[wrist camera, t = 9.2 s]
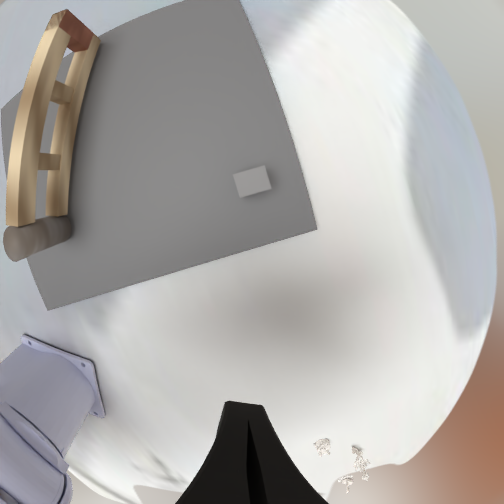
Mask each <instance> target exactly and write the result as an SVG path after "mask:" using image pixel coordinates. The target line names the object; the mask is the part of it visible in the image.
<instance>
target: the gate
mask: <svg viewBox="0 0 504 504" xmlns="http://www.w3.org/2000/svg"><path fill="white" fill-rule="evenodd" d="M100 42H101V40H100V39H99V38H98V37H97V36H96V35H95V34H94V33H93V32H92V31H91V30H90V29H88V28H87V27H86V26H85V25H84V24H83V23H82V22H81V21H80V20H79V19H78V18H76V17H75V16H74V15H73V14H72V13H71V12H70V11H69V10H67V9H66V10H63V11H60V12H58V13H55V14H53V15H52V17H51V19H50V21H49V23H48V25H47V27H46V30H45V32H44V34H43V36H42V38H41V41H40V43H39V45H38V48H37V50H36V53H35V56H34V58H33V61H32V64H31V66H30V69H29V72H28V75H27V78H26V82H25V85H24V88H23V92H22V95H21V99H20V103H19V107H18V111H17V116H16V121H15V125H14V131H13V136H12V142H11V149H10V157H9V166H8V176H7V193H6V225H9V227H7V229H6V230H5V232H4V237H3V243H4V249H5V252H6V254H7V256H8V257H9V258H10V259H11V260H12V261H15V262H17V261H19V260H21V259H24V258H26V257H28V256H31V255H33V254H35V253H38V252H40V251H43V250H45V249H47V248H50V247H52V246H55V245H57V244H60V243H62V242H65V241H67V240H68V239H69V237H70V235H71V223H70V221H69V219H68V217H67V216H65V215H67V213H68V192H69V180H70V169H71V161H72V153H73V146H74V140H75V134H76V128H77V123H78V118H79V113H80V109H81V104H82V100H83V96H84V92H85V88H86V85H87V81H88V78H89V74H90V71H91V68H92V64H93V61H94V58H95V55H96V53H97V50H98V47H99V44H100ZM66 48H69V49H70V50H72V51H73V52H75V53H74V56H73V59H72V62H71V65H70V68H69V71H68V74H67V77H66V81H65V84H63V83H61V82H59V81H57V80H56V76H57V73H58V70H59V67H60V64H61V61H62V58H63V56H64V53H65V50H66ZM50 101H51V102H54V103H57V104H59V107H58V112H57V116H56V121H55V126H54V132H53V137H52V144H51V150H50V154H49V153H40V148H41V141H42V135H43V129H44V124H45V119H46V115H47V110H48V106H49V102H50ZM38 170H48V177H47V190H46V216H48V217H44V218H39V219H35V205H36V185H37V173H38Z"/></svg>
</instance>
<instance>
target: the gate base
mask: <svg viewBox="0 0 504 504" xmlns="http://www.w3.org/2000/svg"><path fill="white" fill-rule="evenodd" d="M98 38H99V39H100V40H101V42H100V44H99V47H98V50H97V53H96V55H95V58H94V61H93V64H92V68H91V71H90V74H89V78H88V81H87V85H86V88H85V92H84V96H83V100H82V104H81V109H80V113H79V118H78V123H77V128H76V134H75V140H74V146H73V153H72V161H71V169H70V180H69V192H68V213H67V215H65V216H67V217H68V219H69V221H70V223H71V235H70V237H69V239H68V240H67V241H65V242H62V243H60V244H57V245H55V246H52V247H50V248H47V249H45V250H43V251H40V252H38V253H35V254H33V255H31V256H28V257H26V258H27V261H28V264H29V266H30V269H31V272H32V274H33V277H34V280H35V282H36V285H37V287H38V290H39V292H40V294H41V297H42V299H43V301H44V303H45V306H46V308H47V310H52V309H55V308H58V307H62V306H65V305H68V304H71V303H75V302H78V301H81V300H84V299H88V298H91V297H94V296H98V295H101V294H104V293H107V292H111V291H114V290H117V289H121V288H124V287H127V286H130V285H134V284H137V283H140V282H144V281H147V280H150V279H154V278H157V277H160V276H164V275H167V274H170V273H173V272H177V271H180V270H183V269H187V268H190V267H193V266H197V265H200V264H203V263H207V262H210V261H213V260H217V259H220V258H223V257H227V256H230V255H233V254H237V253H240V252H243V251H247V250H250V249H253V248H257V247H260V246H263V245H267V244H270V243H273V242H277V241H280V240H284V239H287V238H290V237H294V236H297V235H300V234H304V233H307V232H310V231H314V230H317V226H316V222H315V218H314V214H313V210H312V206H311V202H310V199H309V195H308V191H307V188H306V184H305V180H304V177H303V173H302V170H301V166H300V163H299V160H298V156H297V153H296V150H295V146H294V143H293V140H292V137H291V134H290V131H289V127H288V124H287V121H286V118H285V115H284V112H283V109H282V107H281V104H280V101H279V98H278V95H277V92H276V89H275V87H274V84H273V81H272V79H271V76H270V73H269V71H268V68H267V65H266V63H265V60H264V58H263V55H262V53H261V50H260V48H259V45H258V43H257V40H256V38H255V35H254V33H253V31H252V28H251V26H250V24H249V21H248V19H247V17H246V15H245V12H244V10H243V8H242V6H241V4H240V2H239V0H185V1H182V2H178V3H175V4H172V5H169V6H166V7H164V8H161V9H158V10H155V11H153V12H150V13H148V14H145V15H143V16H140V17H138V18H136V19H133V20H131V21H129V22H127V23H125V24H122V25H120V26H118V27H116V28H114V29H112V30H110V31H108V32H106V33H104V34H103V35H101V36H99V37H98ZM74 53H75V52H72V53H70V54H69V55H67V56H66V57H64V58H63V59H62V61H61V64H60V67H59V70H58V73H57V76H56V80H57V81H59V82H61V83H63V84H65V81H66V77H67V74H68V71H69V68H70V65H71V62H72V59H73V56H74ZM22 92H23V89H22V90H21V91H20V92H19V93H18V94H17V95H16V96H14V97H13V98H12V99H11V100H10V101H9V102H8V103H7V104H6V105H5V106H4V107H3V108H2V109H1V128H2V144H3V155H4V163H5V171H6V177H7V176H8V166H9V157H10V149H11V142H12V136H13V131H14V125H15V121H16V116H17V111H18V107H19V103H20V99H21V95H22ZM58 107H59V104H57V103H54V102H51V101H50V102H49V106H48V110H47V115H46V119H45V124H44V129H43V135H42V141H41V148H40V153H49V154H50V150H51V144H52V137H53V132H54V126H55V121H56V116H57V112H58ZM47 177H48V170H38V173H37V185H36V205H35V219H39V218H44V217H48V216H46V190H47Z"/></svg>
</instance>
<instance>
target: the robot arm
mask: <svg viewBox="0 0 504 504" xmlns="http://www.w3.org/2000/svg"><path fill="white" fill-rule="evenodd" d="M21 341H22V344H21V345H20V346H19V347H18V348H17V349H15V350H14V351H13V352H12V353H11V354H10V355H9V356H8V357H7V358H6V359H5V360H4V361H2V362H1V363H0V504H70V502H71V499H72V493H73V490H72V482H71V478H70V477H69V475H68V474H67V473H66V471H67V469H68V467H69V464H67V463H66V462H65V461H64V458H65V456H66V454H67V452H68V450H69V448H70V446H71V444H72V442H73V440H74V438H75V437H76V435H77V433H78V431H79V429H80V427H81V425H82V424H83V422H84V420H85V418H86V416H87V415H88V413H89V414H92V415H94V416H97V417H100V418H104V417H105V412H104V409H103V405H102V401H101V397H100V393H99V388H98V384H97V379H96V375H95V370H94V365H93V363H92V362H91V361H89V360H87V359H84V358H81V357H78V356H75V355H72V354H70V353H67V352H64V351H62V350H59V349H57V348H54V347H52V346H49V345H47V344H44V343H42V342H40V341H37V340H35V339H33V338H31V337H28V336H26V335H24V334H23V335H22V336H21ZM175 504H328V502H326V501H325V500H324V499H323V498H322V497H321V496H320V495H319V494H318V493H317V492H316V490H315V489H314V488H313V487H312V486H311V485H310V484H309V483H308V481H307V480H306V479H305V478H304V476H303V475H302V474H301V473H300V471H299V470H298V468H297V467H296V466H295V464H294V463H293V461H292V460H291V458H290V457H289V455H288V454H287V452H286V450H285V449H284V447H283V445H282V443H281V442H280V440H279V438H278V436H277V434H276V432H275V430H274V428H273V427H272V424H271V422H270V420H269V418H268V416H267V413H266V411H265V409H264V407H263V406H262V405H256V404H248V403H241V402H234V401H227V402H225V404H224V408H223V411H222V415H221V418H220V422H219V425H218V429H217V435H216V439H215V441H214V444H213V446H212V448H211V450H210V452H209V454H208V455H207V457H206V459H205V461H204V463H203V465H202V466H201V468H200V470H199V471H198V473H197V475H196V476H195V478H194V479H193V481H192V482H191V484H190V485H189V486H188V488H187V489H186V490H185V492H184V493H183V494H182V496H181V497H180V498H179V500H178V501H177V502H176V503H175Z"/></svg>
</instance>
